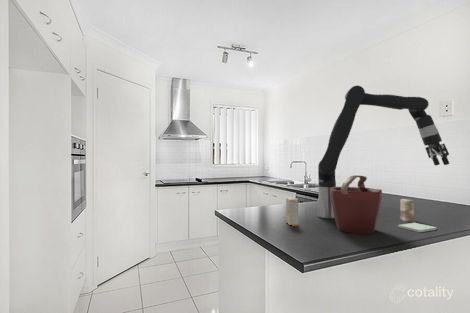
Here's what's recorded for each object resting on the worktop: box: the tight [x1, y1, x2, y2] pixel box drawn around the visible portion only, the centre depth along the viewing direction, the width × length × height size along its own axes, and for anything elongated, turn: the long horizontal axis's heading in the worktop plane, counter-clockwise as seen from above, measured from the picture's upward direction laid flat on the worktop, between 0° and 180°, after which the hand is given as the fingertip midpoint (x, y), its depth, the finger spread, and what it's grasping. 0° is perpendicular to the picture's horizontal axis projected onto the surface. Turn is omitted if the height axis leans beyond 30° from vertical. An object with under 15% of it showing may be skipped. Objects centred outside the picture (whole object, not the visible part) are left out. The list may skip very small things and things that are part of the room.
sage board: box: [397, 222, 437, 233], centre depth 122 cm, size 12×10×1 cm
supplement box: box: [285, 196, 299, 227], centre depth 131 cm, size 8×5×13 cm, turn 179°
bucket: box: [330, 175, 383, 235], centre depth 121 cm, size 24×22×25 cm
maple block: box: [399, 198, 415, 223], centre depth 137 cm, size 4×4×11 cm
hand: (442, 164), depth 132 cm, fingers open, 8 cm apart
